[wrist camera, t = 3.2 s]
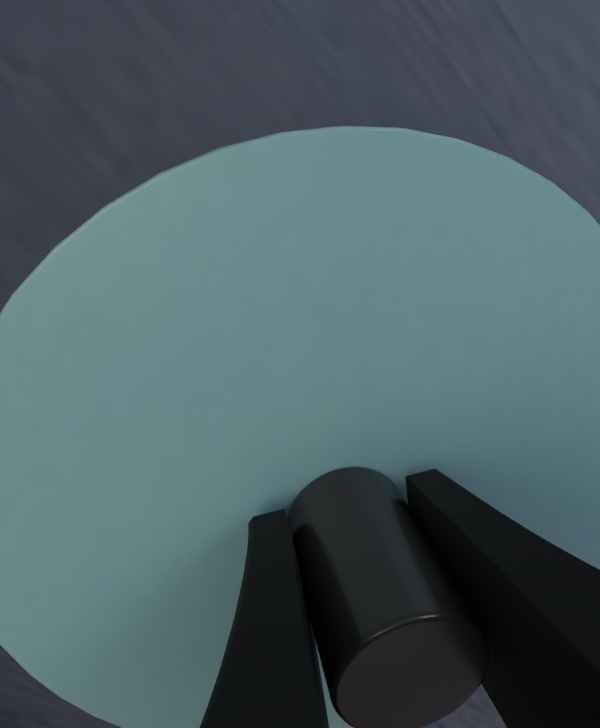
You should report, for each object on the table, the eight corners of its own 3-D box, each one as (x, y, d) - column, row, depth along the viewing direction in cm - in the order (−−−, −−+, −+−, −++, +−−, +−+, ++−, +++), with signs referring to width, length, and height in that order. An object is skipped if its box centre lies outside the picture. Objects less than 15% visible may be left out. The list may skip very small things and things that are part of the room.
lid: (661, 61, 9) (1048, -1, 5) (599, 616, 15) (756, 797, 11) (-200, 219, 8) (-654, 315, 4) (106, 770, 14) (71, 1047, 10)
